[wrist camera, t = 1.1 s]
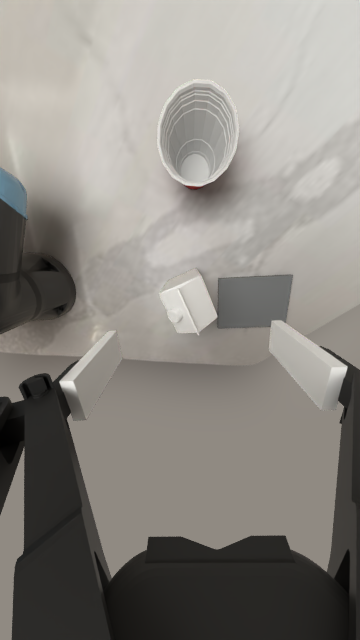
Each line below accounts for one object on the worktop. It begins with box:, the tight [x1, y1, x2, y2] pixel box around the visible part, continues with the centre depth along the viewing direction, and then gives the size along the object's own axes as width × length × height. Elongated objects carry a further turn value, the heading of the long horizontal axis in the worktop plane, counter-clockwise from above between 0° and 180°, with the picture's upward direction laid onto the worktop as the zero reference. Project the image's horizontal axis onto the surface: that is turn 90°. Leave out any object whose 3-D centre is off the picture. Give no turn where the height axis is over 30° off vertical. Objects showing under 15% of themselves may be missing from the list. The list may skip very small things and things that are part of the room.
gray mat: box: [217, 275, 293, 328], centre depth 43 cm, size 16×12×1 cm
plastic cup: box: [157, 79, 239, 189], centre depth 30 cm, size 11×11×12 cm
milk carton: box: [159, 268, 218, 336], centre depth 34 cm, size 7×7×19 cm
